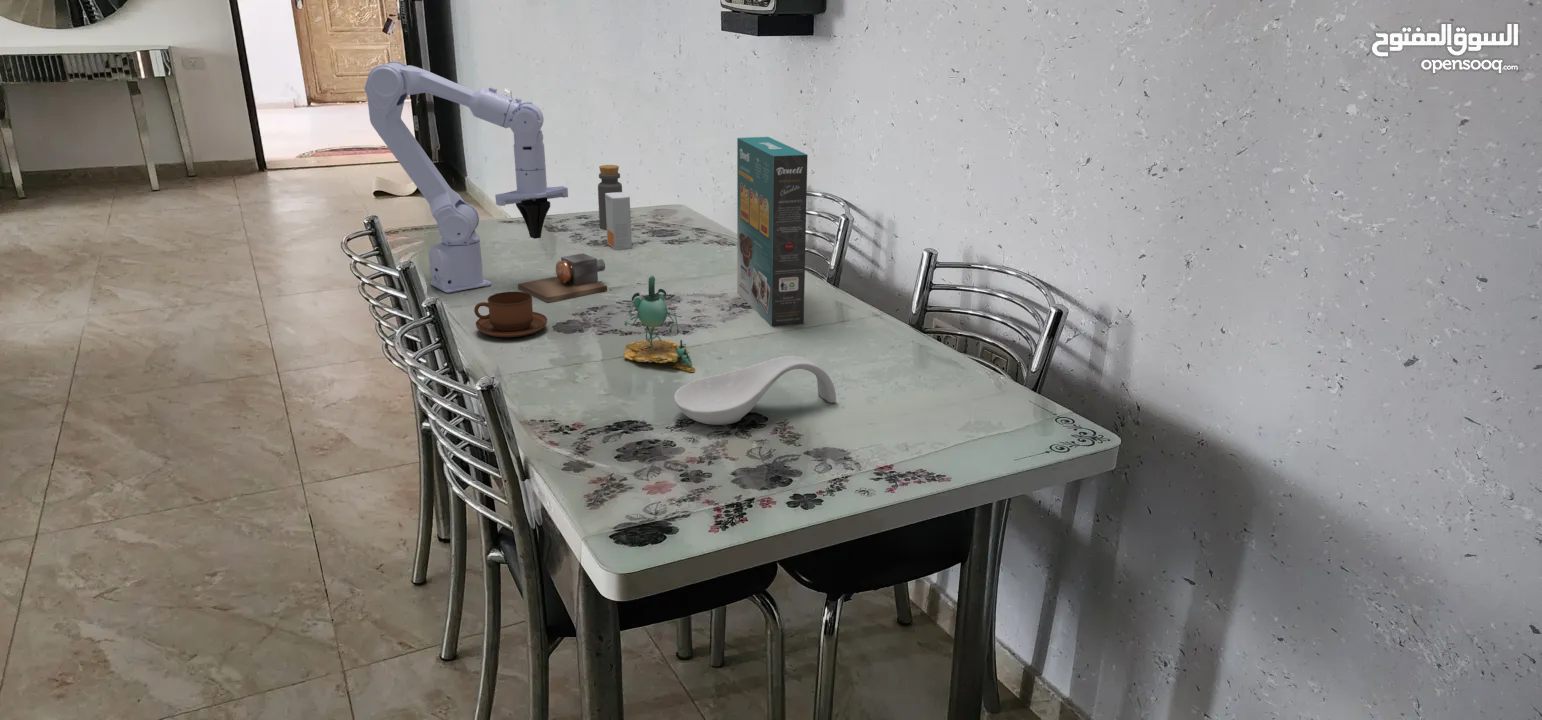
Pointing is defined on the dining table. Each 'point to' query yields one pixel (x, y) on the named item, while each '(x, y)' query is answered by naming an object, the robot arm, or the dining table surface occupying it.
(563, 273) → the shaft
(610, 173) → the bottle
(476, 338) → the dining table surface
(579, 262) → the stand
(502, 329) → the cup and saucer
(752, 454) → the dining table surface
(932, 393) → the dining table surface
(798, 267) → the cake mix box
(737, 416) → the spoon rest
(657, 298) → the teal creature figurine
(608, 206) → the skincare box
